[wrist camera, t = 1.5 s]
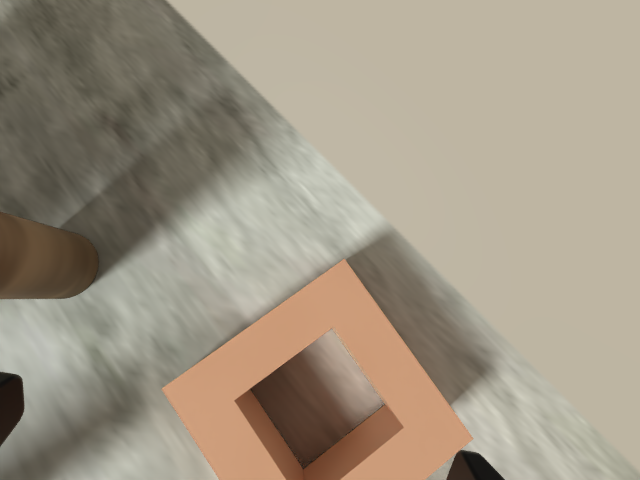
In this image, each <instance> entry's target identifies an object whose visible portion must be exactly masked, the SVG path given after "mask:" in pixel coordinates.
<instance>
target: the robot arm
mask: <svg viewBox="0 0 640 480" xmlns="http://www.w3.org/2000/svg"><path fill="white" fill-rule="evenodd" d="M23 412H24V393H23V381H22V378H21V377H20V376H19V375H16V374H10V373H4V372H0V446H1V445H2V444H3V442H4V441H5V440H6V438H7V437H8V436H9V434H10V433H11V432H12V430H13V429H14V428H15V426H16V425H17V423H18V422H19V421H20V419H21V417H22V415H23ZM447 480H505V479H504V478H503V477H502V476H501V475H500V474H499V473H498V472H497V471H496V470H495V469H494V468H493V467H492V466H491V465H490V464H489V463H488V462H487V461H486V460H485V458H484V457H483V456H481V455H480V454H479V453H476V452H471V451H465V450H460V451H458V452H457V454H456V456H455V458H454V461H453V463H452V466H451V469H450V471H449V474H448V476H447Z"/></svg>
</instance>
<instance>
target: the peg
mask: <svg viewBox="0 0 640 480" xmlns="http://www.w3.org/2000/svg"><path fill="white" fill-rule="evenodd" d="M98 264H99V261H98V254H97V252H96V249H95V247H94V246H93V244H92V243H91V242H90V241H89V240H88V239H86V238H85V237H83V236H81V235H79V234H76V233H72V232H69V231H65V230H62V229H58V228H55V227H51V226H48V225H44V224H41V223H37V222H34V221H30V220H27V219H23V218H20V217H17V216H13V215H10V214H6V213H3V212H0V299H64V298H70V297H73V296H76V295H78V294H80V293H81V292H83V291H84V290H85V289H86V288H88V287H89V285H90V284H91V283H92V282H93V280H94V278H95V276H96V274H97V271H98Z"/></svg>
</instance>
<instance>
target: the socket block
mask: <svg viewBox="0 0 640 480" xmlns="http://www.w3.org/2000/svg"><path fill="white" fill-rule="evenodd" d="M331 328H332V329H333V331H334V332H335V334H336V335H337V336H338V338H339V339H340V341H341V342H342V344H343V345H344V346H345V348H346V349H347V351H348V352H349V354H350V355H351V356H352V358H353V359H354V361H355V362H356V364H357V365H358V366H359V368H360V369H361V371H362V372H363V374H364V375H365V376H366V378H367V379H368V381H369V382H370V384H371V385H372V386H373V388H374V389H375V391H376V392H377V394H378V395H379V397H380V398H381V399H382V401H383V402H384V404H385V405H384V406H382V407H381V408H380V409H379V410H377V411H376V412H375V413H374V414H372V415H371V416H370V417H369V418H367V419H366V420H365V421H364V422H362V423H361V424H360V425H359V426H357V427H356V428H355V429H354V430H352V431H351V432H350V433H348V434H347V435H346V436H345V437H343V438H342V439H341V440H340V441H338V442H337V443H336V444H335V445H333V446H332V447H331V448H330V449H328V450H327V451H326V452H325V453H323V454H322V455H321V456H320V457H318V458H317V459H316V460H315V461H313V462H312V463H311V464H309V465H308V466H307V467H306V468H304V469H303V468H302V467H301V465H300V464H299V462H298V461H297V459H296V458H295V456H294V455H293V453H292V452H291V450H290V449H289V447H288V446H287V444H286V443H285V441H284V439H283V438H282V436H281V435H280V433H279V432H278V430H277V429H276V427H275V426H274V424H273V423H272V421H271V420H270V418H269V417H268V415H267V414H266V412H265V411H264V409H263V408H262V406H261V405H260V403H259V402H258V400H257V399H256V397H255V396H254V394H253V393H252V391H251V390H250V388H252V387H253V386H254V385H256V384H257V383H258V382H260V381H261V380H262V379H264V378H265V377H266V376H268V375H269V374H271V373H272V372H273V371H275V370H276V369H277V368H279V367H280V366H281V365H283V364H284V363H285V362H287V361H288V360H289V359H291V358H292V357H294V356H295V355H296V354H298V353H299V352H300V351H302V350H303V349H304V348H306V347H307V346H308V345H310V344H311V343H312V342H314V341H315V340H317V339H318V338H319V337H321V336H322V335H323V334H325V333H326V332H327V331H329V330H330V329H331ZM162 391H163V392H164V394H165V395H166V397H167V398H168V400H169V402H170V403H171V405H172V406H173V408H174V409H175V411H176V412H177V414H178V416H179V417H180V419H181V420H182V422H183V423H184V425H185V427H186V428H187V430H188V431H189V433H190V434H191V436H192V438H193V439H194V441H195V442H196V444H197V445H198V447H199V448H200V450H201V452H202V453H203V455H204V456H205V458H206V459H207V461H208V463H209V464H210V466H211V467H212V469H213V470H214V472H215V473H216V475H217V477H218V478H219V480H425V479H426V478H427V477H429V476H430V475H431V474H432V473H433V472H435V471H436V470H437V469H438V468H439V467H440V466H442V465H443V464H444V463H445V462H446V461H448V460H449V459H450V458H451V457H452V456H453V455H455V454H456V453H457V452H458V451H459V450H461V449H462V448H463V447H464V446H465V445H466V444H468V443H469V442H470V441H471V440H472V439H473V437H472V436H471V435H470V433H469V432H468V430H467V429H466V428H465V426H464V425H463V423H462V422H461V421H460V419H459V418H458V417H457V415H456V414H455V412H454V411H453V410H452V408H451V407H450V405H449V404H448V403H447V401H446V400H445V398H444V397H443V396H442V394H441V393H440V391H439V390H438V389H437V387H436V386H435V384H434V383H433V382H432V380H431V379H430V377H429V376H428V375H427V373H426V372H425V370H424V369H423V368H422V366H421V365H420V363H419V362H418V361H417V359H416V358H415V357H414V355H413V354H412V352H411V351H410V350H409V348H408V347H407V345H406V344H405V343H404V341H403V340H402V338H401V337H400V336H399V334H398V333H397V331H396V330H395V329H394V327H393V326H392V324H391V323H390V322H389V320H388V319H387V317H386V316H385V315H384V313H383V312H382V310H381V309H380V308H379V306H378V305H377V303H376V302H375V301H374V299H373V298H372V297H371V295H370V294H369V292H368V291H367V290H366V288H365V287H364V285H363V284H362V283H361V281H360V280H359V278H358V277H357V276H356V274H355V273H354V271H353V270H352V269H351V267H350V266H349V264H348V263H347V262H346V260H345V259H343V260H342V261H341V262H339V263H338V264H336V265H335V266H334V267H332V268H331V269H329V270H328V271H326V272H325V273H324V274H322V275H321V276H319V277H318V278H317V279H315V280H314V281H312V282H311V283H310V284H308V285H307V286H305V287H304V288H303V289H301V290H300V291H298V292H297V293H296V294H294V295H293V296H291V297H290V298H289V299H287V300H286V301H284V302H283V303H282V304H280V305H279V306H277V307H276V308H274V309H273V310H272V311H270V312H269V313H267V314H266V315H265V316H263V317H262V318H260V319H259V320H258V321H256V322H255V323H253V324H252V325H251V326H249V327H248V328H246V329H245V330H244V331H242V332H241V333H239V334H238V335H237V336H235V337H234V338H232V339H231V340H230V341H228V342H227V343H225V344H224V345H222V346H221V347H220V348H218V349H217V350H215V351H214V352H213V353H211V354H210V355H208V356H207V357H206V358H204V359H203V360H201V361H200V362H199V363H197V364H196V365H194V366H193V367H192V368H190V369H189V370H187V371H186V372H185V373H183V374H182V375H180V376H179V377H178V378H176V379H175V380H173V381H172V382H170V383H169V384H168V385H166V386H165V387H163V388H162Z"/></svg>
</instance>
